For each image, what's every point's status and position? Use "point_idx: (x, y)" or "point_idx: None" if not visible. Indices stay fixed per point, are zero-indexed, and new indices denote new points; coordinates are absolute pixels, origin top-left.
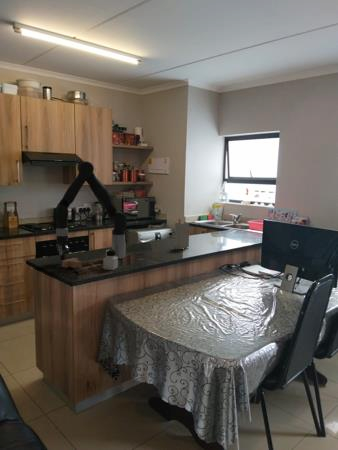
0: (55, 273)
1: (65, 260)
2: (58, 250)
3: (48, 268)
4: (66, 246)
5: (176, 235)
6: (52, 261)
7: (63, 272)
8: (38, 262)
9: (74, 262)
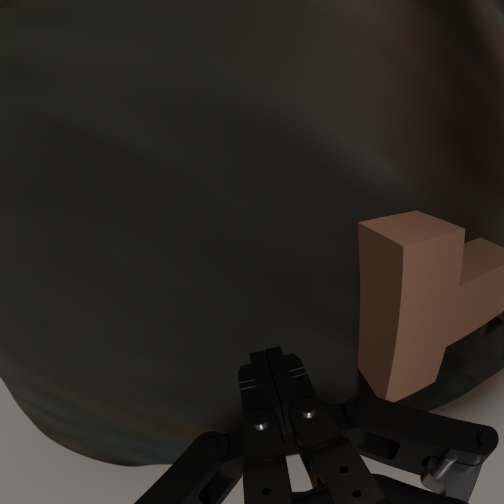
0: (430, 409)
1: (408, 380)
2: (220, 499)
3: None
4: (465, 498)
5: None
6: (114, 377)
7: (453, 376)
8: (112, 443)
9: (489, 316)
